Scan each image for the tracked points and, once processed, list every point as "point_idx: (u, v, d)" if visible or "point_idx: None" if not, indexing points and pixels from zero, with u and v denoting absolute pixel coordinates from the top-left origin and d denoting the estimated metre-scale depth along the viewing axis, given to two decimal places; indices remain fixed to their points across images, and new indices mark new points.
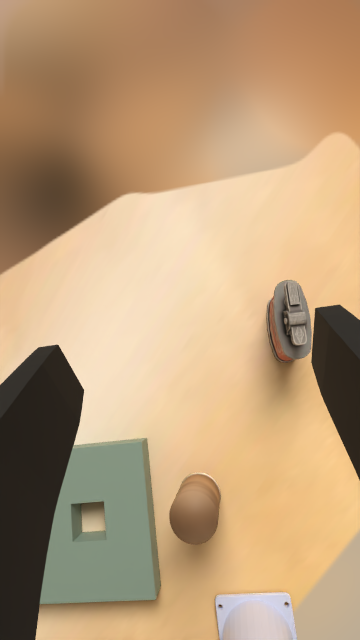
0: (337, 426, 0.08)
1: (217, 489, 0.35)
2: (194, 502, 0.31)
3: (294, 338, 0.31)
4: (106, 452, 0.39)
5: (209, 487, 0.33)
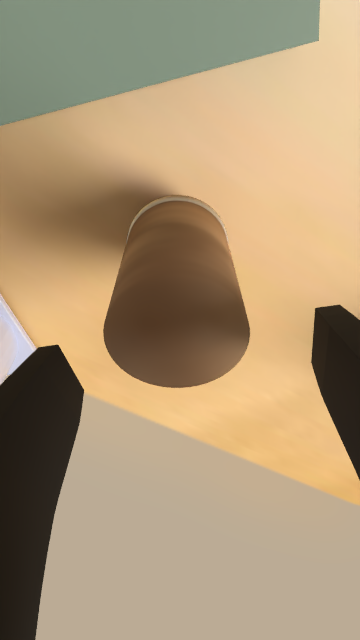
0: (336, 425, 0.08)
1: None
2: (219, 339, 0.10)
3: None
4: None
5: None
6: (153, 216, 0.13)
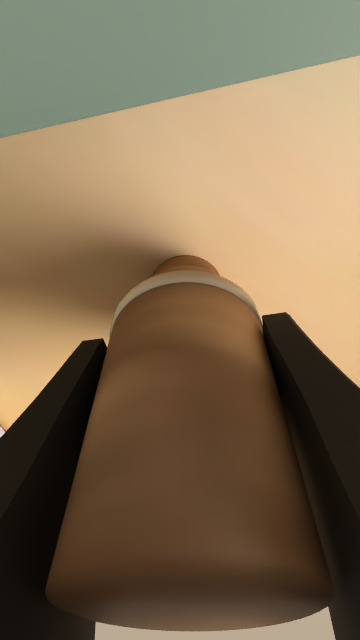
0: None
1: None
2: (270, 604, 0.05)
3: None
4: None
5: None
6: (151, 316, 0.08)
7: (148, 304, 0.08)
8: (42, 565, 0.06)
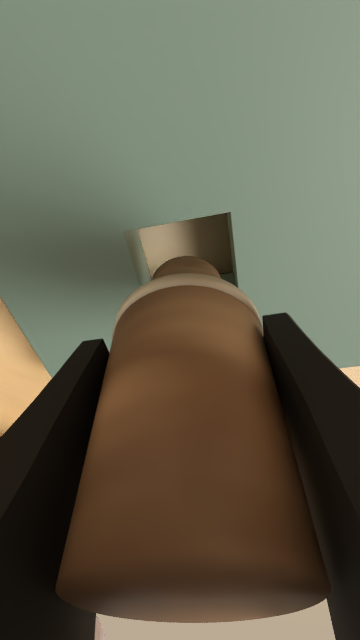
0: None
1: None
2: (270, 598, 0.06)
3: None
4: None
5: None
6: (150, 321, 0.08)
7: (148, 308, 0.08)
8: (42, 565, 0.06)
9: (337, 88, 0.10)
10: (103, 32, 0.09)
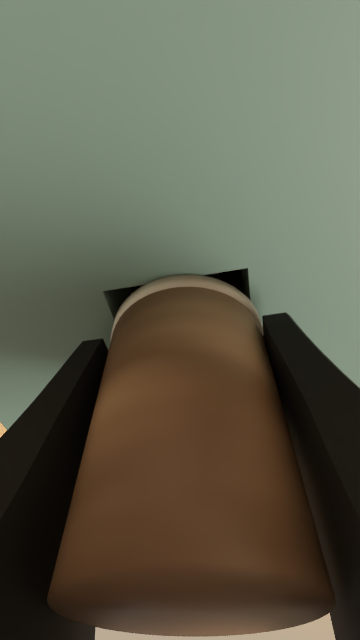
0: None
1: None
2: (272, 611, 0.05)
3: None
4: None
5: None
6: (149, 322, 0.08)
7: (147, 310, 0.08)
8: (42, 565, 0.06)
9: None
10: (60, 20, 0.06)
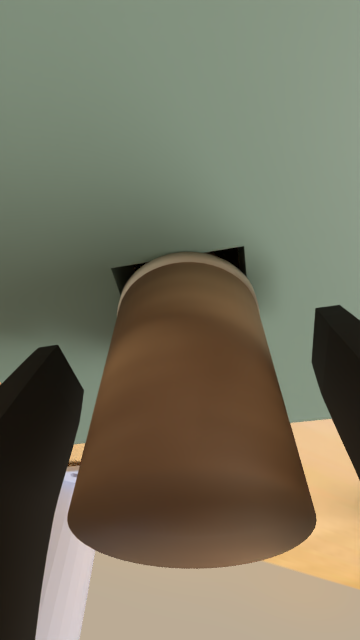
0: (337, 426, 0.08)
1: None
2: (262, 530, 0.06)
3: None
4: None
5: None
6: (154, 292, 0.09)
7: (151, 282, 0.09)
8: None
9: None
10: (77, 18, 0.07)
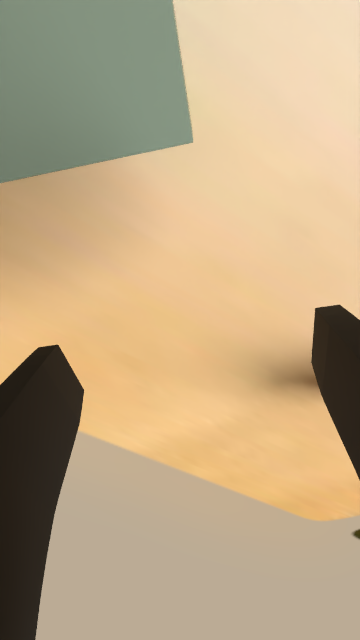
0: (337, 425, 0.08)
1: None
2: None
3: None
4: None
5: None
6: None
7: None
8: None
9: None
10: None
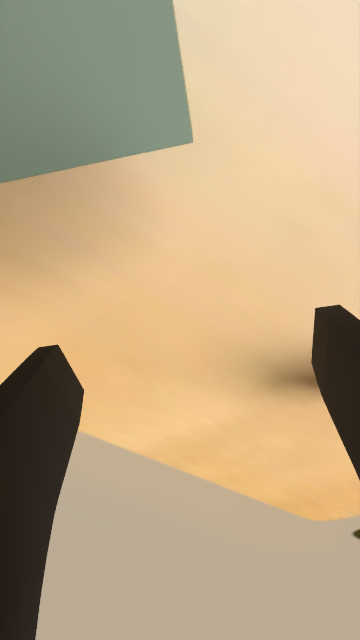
0: (336, 425, 0.08)
1: None
2: None
3: None
4: None
5: None
6: None
7: None
8: None
9: None
10: None
